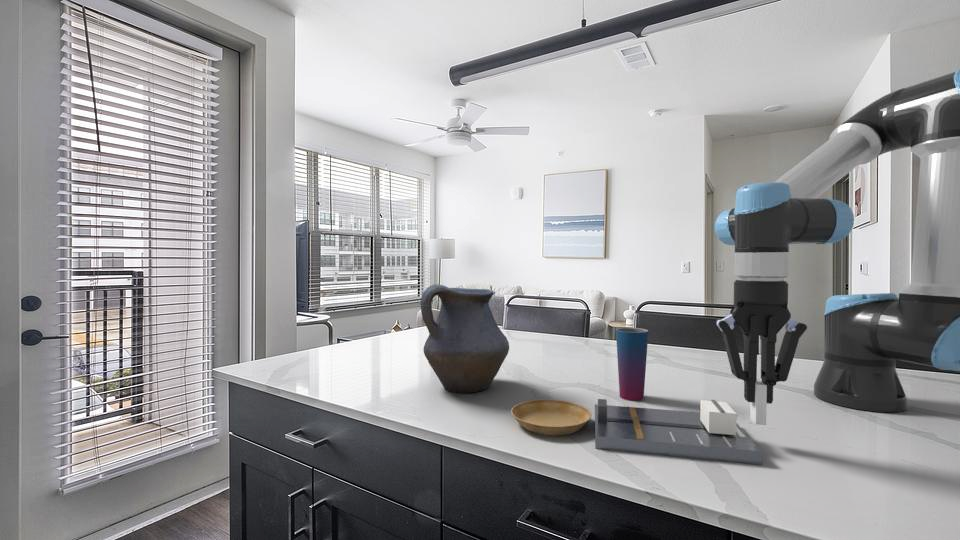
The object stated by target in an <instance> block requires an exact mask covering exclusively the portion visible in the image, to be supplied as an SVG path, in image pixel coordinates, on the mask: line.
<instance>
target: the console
mask: <svg viewBox="0 0 960 540" xmlns="http://www.w3.org/2000/svg"><path fill="white" fill-rule="evenodd" d="M594 440H595V441H594V443H595V446H594V447H595V448H594V449H598V450H609V451H617V452H618V451H619V452H627V453H630V452H631V453H639V454H650V455H659V456H671V457H681V458H688V459H689V458H690V459H700V460H709V461H719V462H729V463H740V464H751V465H759V466H762V463H763V461H762V460H763V459H762V458H763V454H762V453H763V452H762V450H761V449H760V447H759V446H757V444H756V443H755V442H754V441H753V439H751V438H750V436H749V435H748V434H747V432H745V431H744V430H743V428H742V427H741V426H740V425H739V424H738V423H737V422H736V435H728V434H716V433H709V432H708V431H707V429H706V428H705V426H704V425H703V423H702V422H701V420H700V412H699V411H687V410H686V411H685V410H676V409H675V410H673V409H661V408H649V407H635V406H634V407H633V406H623V405H621V406H620V405H609V404H608V401H607V399H605V398H602V399H601V398H597V404H594Z"/></svg>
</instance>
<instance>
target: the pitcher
mask: <svg viewBox="0 0 960 540" xmlns="http://www.w3.org/2000/svg"><path fill="white" fill-rule="evenodd" d="M493 295H494V290H493V289H488V288H487V289H486V288H463V287H448V286H446V285H444V284H438V283H437V284H432V285H430V286H428V287H427V288H426V289H425V290H424V291H423V293H422V295H421V298H420V311H421V316H422V321H423V322H424V324H425V326H426V328H427V331H428V333H429V335H428V337H427V338H426V341H425V343H424V346H423V355H424V356H425V358H426V360H427V361H428V364H429V366H430V367H431V368H432V370H433V372H434V373H435V375H436V377H437V378H438V380H439V382H440V384H441V385H442V387H444V388H445V390H447V391H450V392H452V393H455V394H473V393H476V392H484V391H486V390H488V389H489V387H490V386H491V384H492V383H493V381H494V380H495V377H496V376H497V374H498V373H499V371H500V370H501V367H502V365H503V363H504V362H505V360H506V358H507V356H508V354H509V351H510V342H509V340H508V338H507V336H506V335H505V334H504V333H503V331H502V330H501V329H500V327H499V326H498V323H497V320H496V319H495V317H494V315H493V312H492V310H491V308H490V304H489V303H490V300H491V298H492V297H493ZM436 296H437V297H438V298H439V299H440V303H441V305H440V309H439V313H438V316H437V318H436V320H434V314H433V307H432V301H433V299H434V297H436Z"/></svg>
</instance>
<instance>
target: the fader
mask: <svg viewBox="0 0 960 540" xmlns="http://www.w3.org/2000/svg"><path fill="white" fill-rule="evenodd" d="M737 415H738V413H736V412H735V410H734V409H733V408H732V407H731V406H730V405H729V404H728V403H727V402H726V401H719V400H718V401H717V400H716V399H710V400H705V399H704V400H703V399H702V400H700V420H701V422H702V423H703V425H704V426H705V428H706V429H707V431H708V432H709V433H716V434H728V435H736V423H737Z"/></svg>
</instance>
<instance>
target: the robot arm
mask: <svg viewBox="0 0 960 540" xmlns="http://www.w3.org/2000/svg"><path fill="white" fill-rule="evenodd" d="M905 148H909V150H910V152H911V153H912V154H914V155H916V156H917V157H918V158H919V159H920V163H919V173H918V174H919V175H918V187H917V188H918V189H917V200H916V214H915V226H914V239H913V248H912V249H913V250H912V265H911V275H910V284H909V285H908V286H906V287H904V288H903V289H901V290H899V292H898V295H897V293H893V292H891V293H890V292H889V293H888V292H884V293H859V294H838V295H832V296H830V297H828V299H827V300H826V303H825V311H824V313H823V316H824V358H823V363H822V366H821V368H820V370H819V372H818V374H817V377H816V379H815V381H814V384H813V395H814V397H816V398H818V399H820V400H822V401H824V402H828V403H831V404H834V405H838V406H841V407H846V408H851V409H857V410H862V411H868V412H870V411H871V412H879V413H881V412H882V413H897V412H898V413H899V412H903V411H906V410H907V400H908V398H907V396H906V393H905V391H904V388H903V384H902V383H901V380H900V377H899V375H898V373H897V369H896V367H897V366H896V362H897V361H902V362H907V363H912V364H916V365H921V366H926V367H927V366H928V367H932V368H935V369H938V370H941V371H954V372H960V69H958V70H956V71H953V72H951V73H950V72H949V73H948V74H945V75H942V76H938V77H935V78H932V79H929V80H925V81H923V82H920V83H916V84H913V85H910V86H907V87H905V88H904V87H903V88H900V89H897V90H894V91H892V92H890V93H888V94H886V95H884V96H881V97H880V98H878V99H875V100H874V101H873V102H871V103H870V104H868V105H866V106H865V107H863V108H862V109H860V110H859V111H858V112H856V113H855V114H853V115H852V116H851V117H849V118H847V120H845V121H843V123H841V124H839V125H838V126H837V127H836V128H835V129H834V130H832V132H831V134H830V135H829V138H828V140H827V141H826V142H825V143H823V144H822V145H820V146H819V147H817V149H815V150H814V151H812V153H810V154H809V155H807V156H806V157H805V158H803V160H801V161H800V162H798V163H797V164H796V165H795V166H793V167H792V168H791V169H790V170H788V171H786V173H784V174H783V175H781V176H780V177H779V178H778V179H776V180H775V181H773V182H770V181H769V182H758V183H752V184H746V185H743V186H741V187H740V188H738V190H737V191H736V193H735V194H736V195H735V200H734V201H735V203H734V207H733V208H730V209H727V210H724V211H722V212H721V213H720V214H719V215H718V216H717V218H716V219H715V223H714V231H715V235H716V236H717V238H718V239H719V241H720V242H721V243H722V244H724V245H727V246H734V262H733V263H734V265H733V267H734V270H733V275H734V276H735V277H737V279H735V281H733V305H732V308H731V309H730V311H729V315H727V316H726V317H724V318H722V319H720V318H719V319H716V320H715V325H716V326H717V328H718V329H719V330H720V333H721V335H722V337H723V342H724V346H725V351H726V354H727V358H728V362H729V366H730V370H731V374H732V375H733V376H734V377H736V379H738V380H742V381H743V382H744V384H743V386H744V387H743V397H744V400H745V401H746V402H747V403H749V406H750V407H749V419H750V420H751V421H752V422H753V423H754V424H755V425H759V426H766V425H767V404H769V405H770V404H773V401H774V387H775V386H776V385H777V383H778V382H779V383H780V382H786V381H787V380H788V379H789V374H790V370H791V367H792V364H793V362H794V361H793V360H794V358H795V354H796V352H797V348H798V344H799V341H800V338H801V337H802V336H803V334H804V333H805V332H806V331H807V329H808V326H807V324H806V323H802V322H800V321H798V320H796V319H794V318H793V317H792V314H791V312H790V310H789V307H788V303H789V302H788V301H789V283H788V282H787V281H786V280H785V278H788V277H789V275H790V274H789V271H790V270H789V268H790V267H789V265H790V263H789V261H790V260H789V259H790V258H789V254H790V252H789V251H790V245H797V244H798V245H803V244H806V245H807V244H816V245H825V244H834V243H838V242H841V241H842V240H844V239H845V238H846V237H848V236H849V234H850V233H851V232H852V230H853V228H854V221H855V217H854V216H855V215H854V212H853V209H852V207H850V205H848V204H847V203H845V202H844V201H841V200H838V199H831V198H828V197H823V198H819V197H820V196H821V195H822V194H824V192H826V191H827V190H829V189H830V188H831V187H832V186H834V185H835V184H836V183H837V182H838V181H840V180H841V179H842V178H844V177H845V176H847V175H848V174H849V173H850V172H852V171H853V170H854V169H856V168H857V167H858V166H860V165H866V164H869V163H870V162H872V161H874V160H875V159H876V158H878V157H879V156H881V155H884V154H886V153H889V152H893V151H896V150H901V149H905ZM734 323H736V325H737V326H738V327H739V329H740V330H741V332H742V338H743V365H742V360H741V356H740V353H739V348H738V345H737V340H736V337H735V333H734V331H733V330H734V328H735V325H734ZM783 327H784V328H785V333H784V334H783V338H782V341H781V345H780V347H779V351H778V355H777V358H776V343H777V339H778V338H777V334H779V332H780V331H781V330H782V329H783ZM759 337H760V338H759ZM759 339H760V379H761V380H758V379H757V377H758V373H757V372H758V370H757V369H758V342H759Z"/></svg>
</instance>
